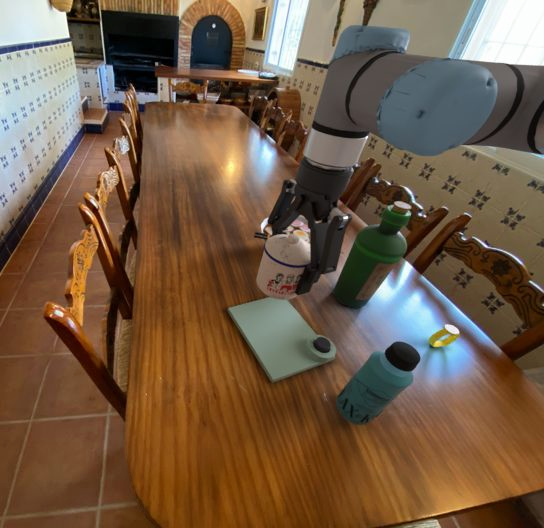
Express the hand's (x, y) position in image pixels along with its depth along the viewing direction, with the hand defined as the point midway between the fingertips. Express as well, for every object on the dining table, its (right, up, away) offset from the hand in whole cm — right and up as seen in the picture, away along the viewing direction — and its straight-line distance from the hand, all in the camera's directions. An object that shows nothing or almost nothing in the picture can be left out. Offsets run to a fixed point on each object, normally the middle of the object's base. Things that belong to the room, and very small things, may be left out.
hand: (286, 275), depth 58 cm
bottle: (+24, -7, +23) cm, 34 cm away
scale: (+1, -14, +11) cm, 18 cm away
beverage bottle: (+12, -26, -2) cm, 28 cm away
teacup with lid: (0, -2, +1) cm, 2 cm away
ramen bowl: (+13, +6, +37) cm, 40 cm away
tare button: (+9, -16, +6) cm, 19 cm away
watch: (+39, -17, +12) cm, 45 cm away
